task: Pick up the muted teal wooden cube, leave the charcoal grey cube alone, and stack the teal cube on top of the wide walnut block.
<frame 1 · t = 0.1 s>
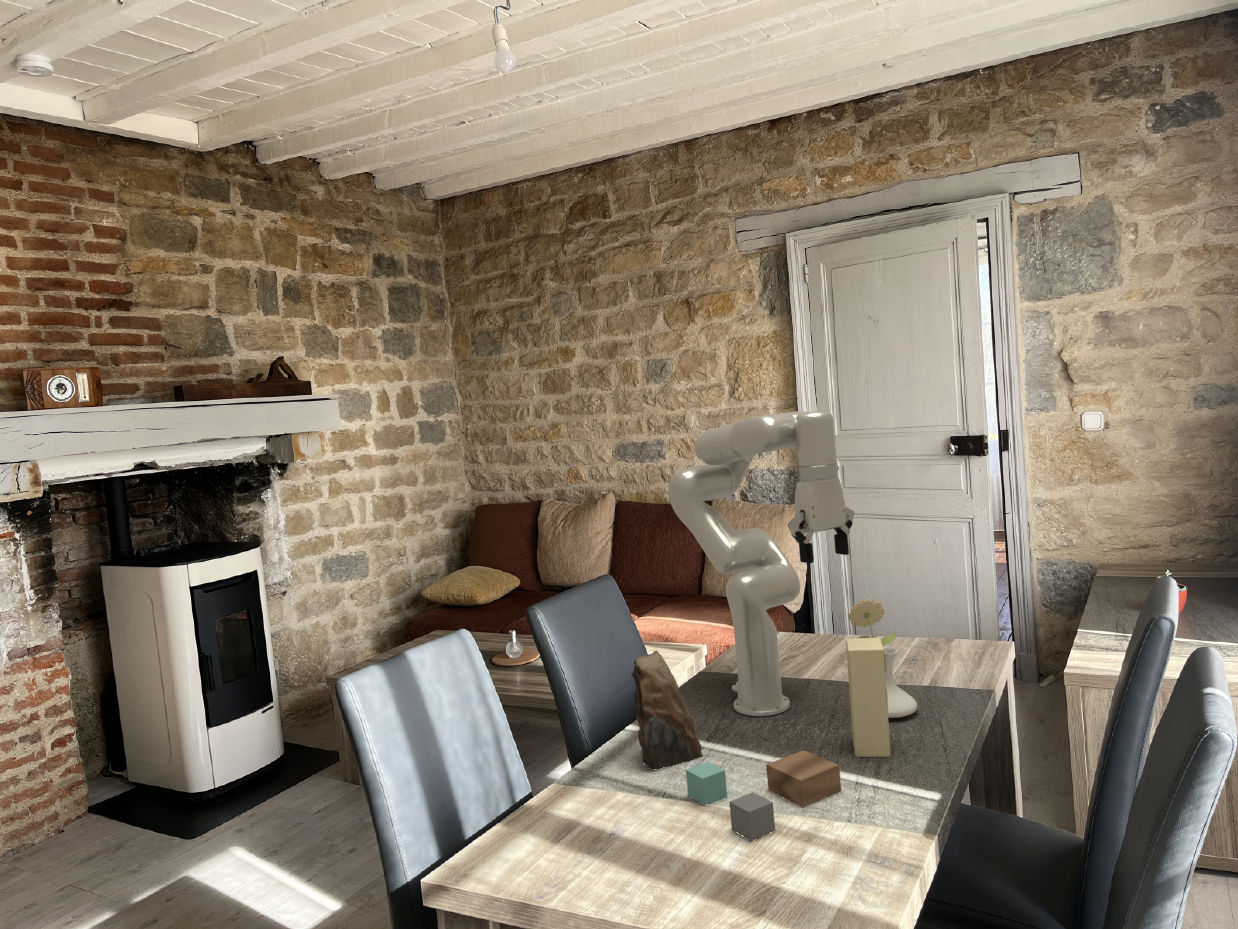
hand: (824, 558, 176), 37 cm above the table, tool pointing down, fingers open, 9 cm apart
brown rock: (670, 758, 176), on the table
teal cube: (707, 797, 157), on the table
tall cream block: (873, 750, 171), on the table
grey cube: (753, 831, 143), on the table
walnut block: (804, 792, 156), on the table
flower in vase: (886, 714, 188), on the table
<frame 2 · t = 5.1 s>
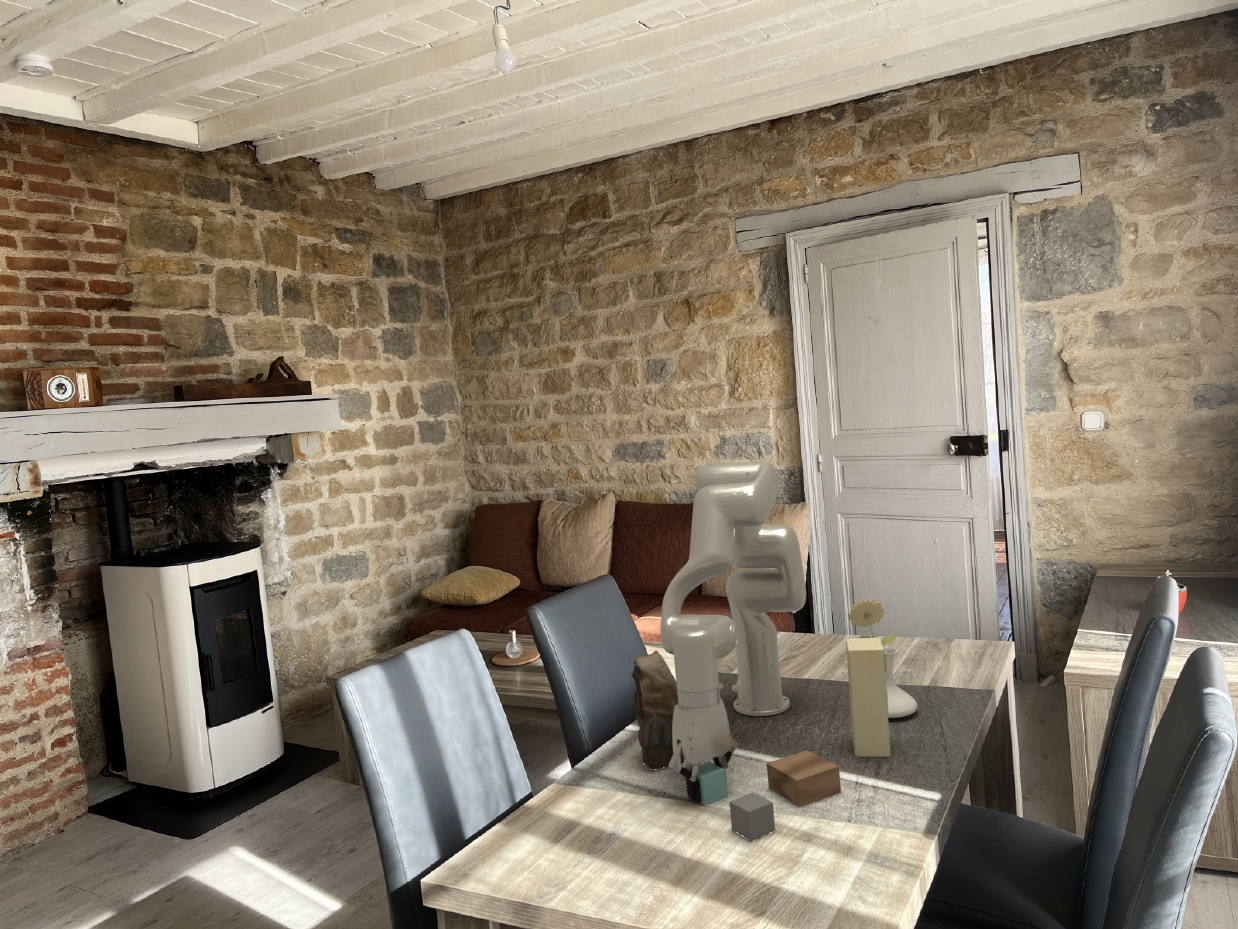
hand: (707, 793, 157), 0 cm above the table, tool pointing down, fingers closed on teal cube, 5 cm apart
teal cube: (707, 796, 157), on the table, touching gripper
everything else where it was.
when the fingers open (7 cm above the table, at t = 11.1 s): teal cube drops 2 cm, resting on walnut block.
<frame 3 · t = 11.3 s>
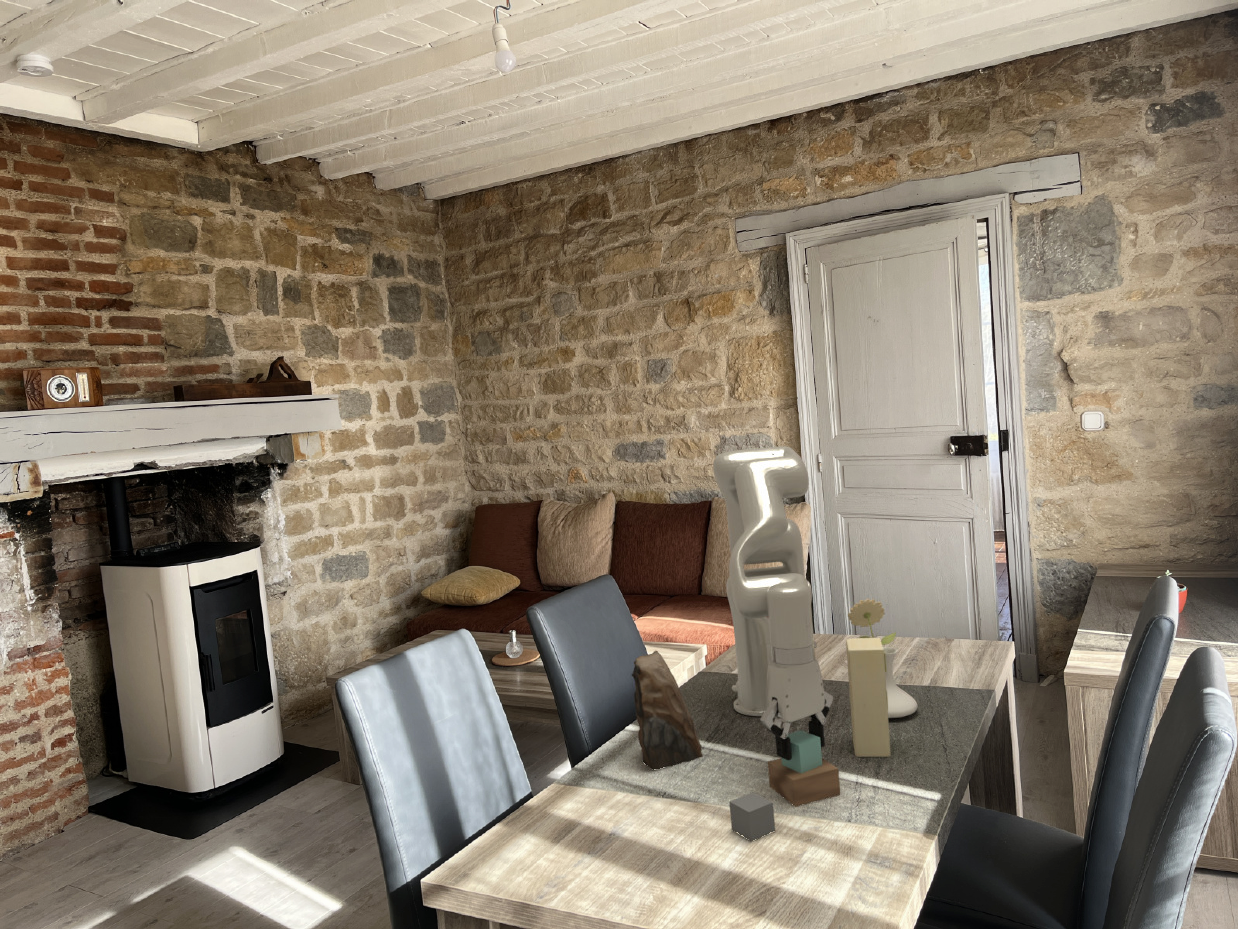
hand: (801, 750, 155), 7 cm above the table, tool pointing down, fingers open, 7 cm apart
teal cube: (802, 765, 156), point 5 cm above the table, touching walnut block
walnut block: (804, 792, 156), on the table, touching teal cube
everything else where it was.
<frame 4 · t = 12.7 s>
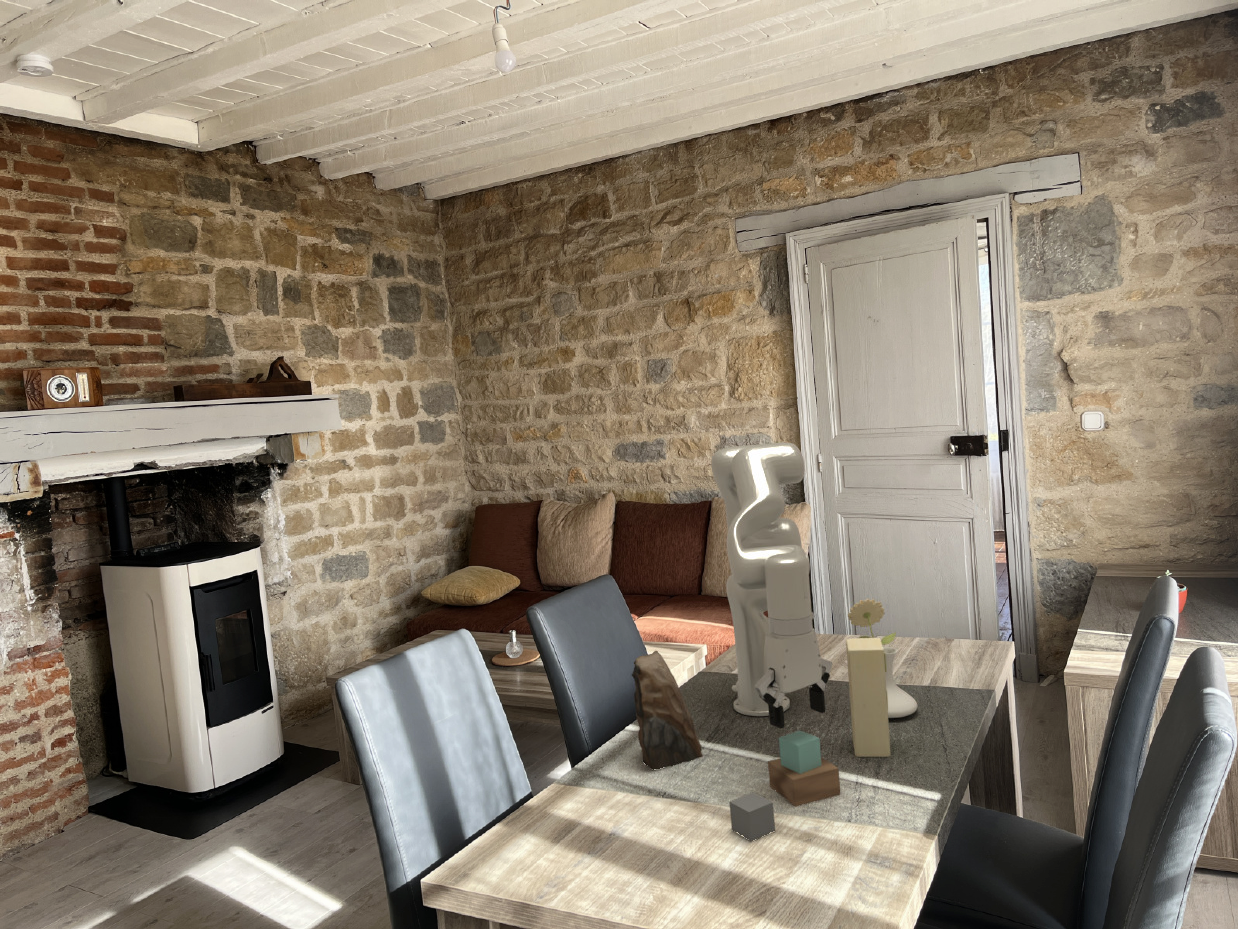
hand: (797, 718, 155), 13 cm above the table, tool pointing down, fingers open, 9 cm apart
teal cube: (801, 765, 155), point 5 cm above the table
walnut block: (804, 792, 156), on the table
everything else where it was.
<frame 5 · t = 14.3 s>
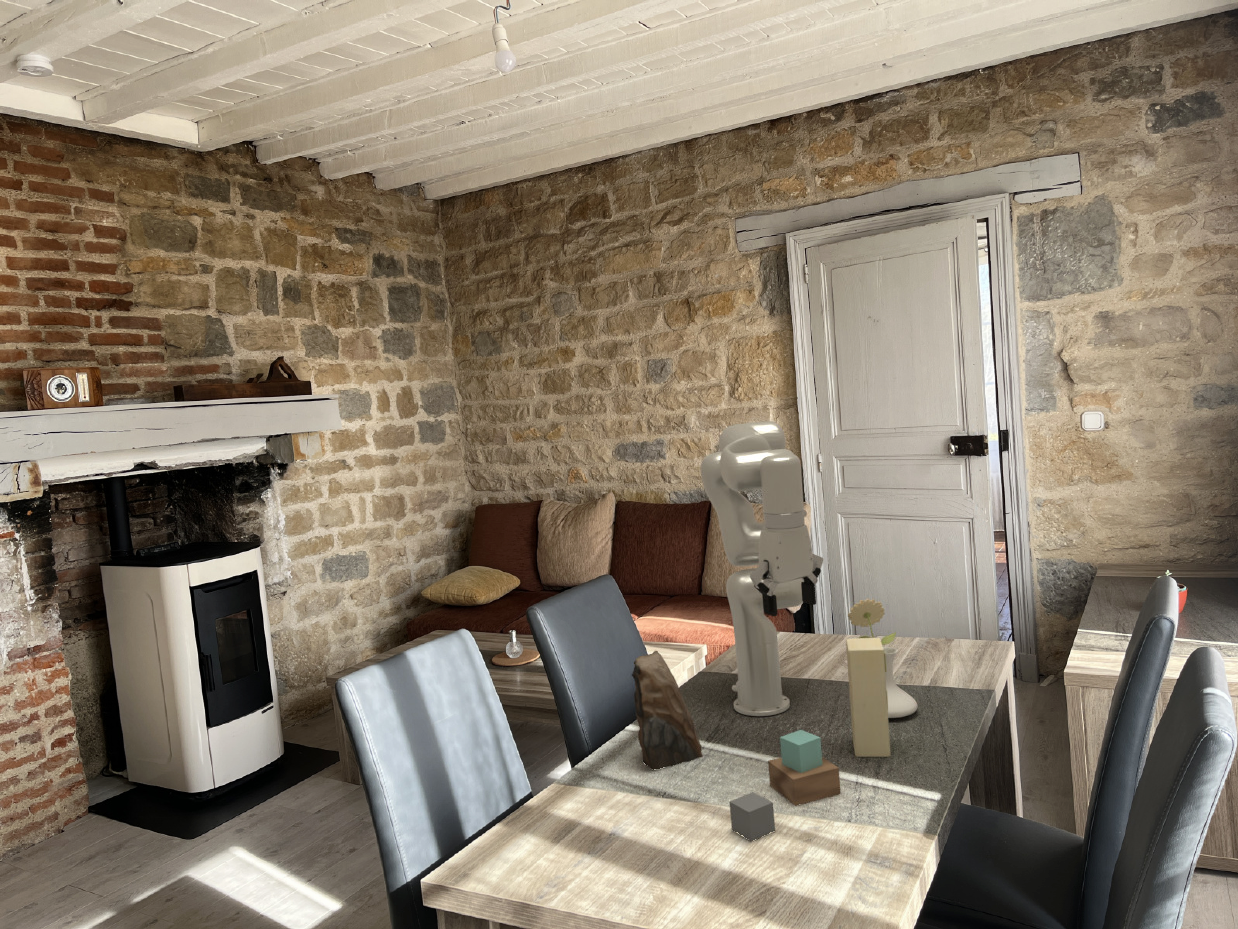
hand: (790, 609, 166), 30 cm above the table, tool pointing down, fingers open, 9 cm apart
nothing on the table moved.
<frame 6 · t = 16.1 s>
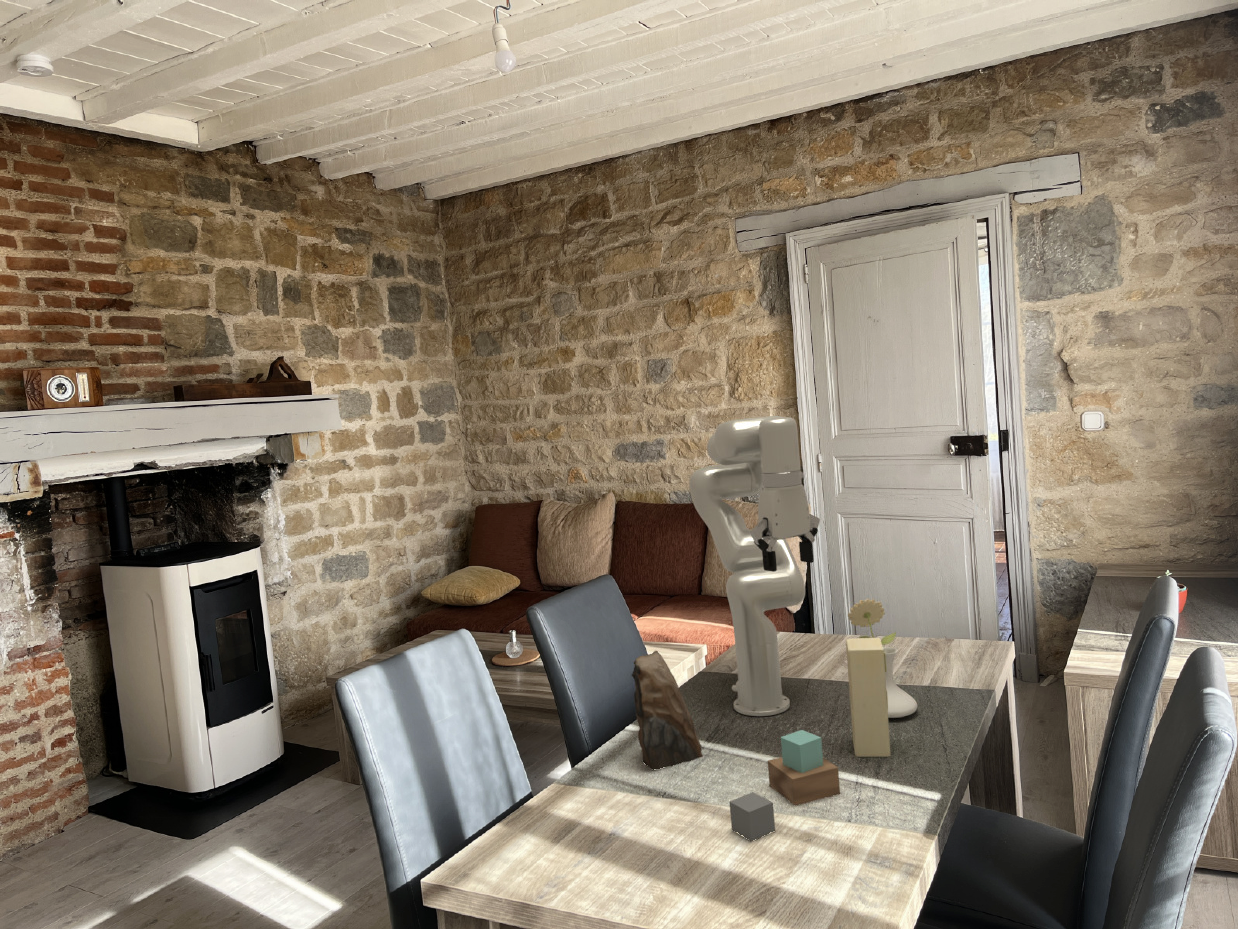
hand: (788, 566, 173), 36 cm above the table, tool pointing down, fingers open, 9 cm apart
teal cube: (803, 764, 156), point 5 cm above the table, touching walnut block
walnut block: (804, 791, 156), on the table, touching teal cube
everything else where it was.
at the end: teal cube 0.4 cm off-centre on the walnut block, point 5.0 cm above the walnut block's base; teal cube tilted 0°; the gripper is holding nothing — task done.
